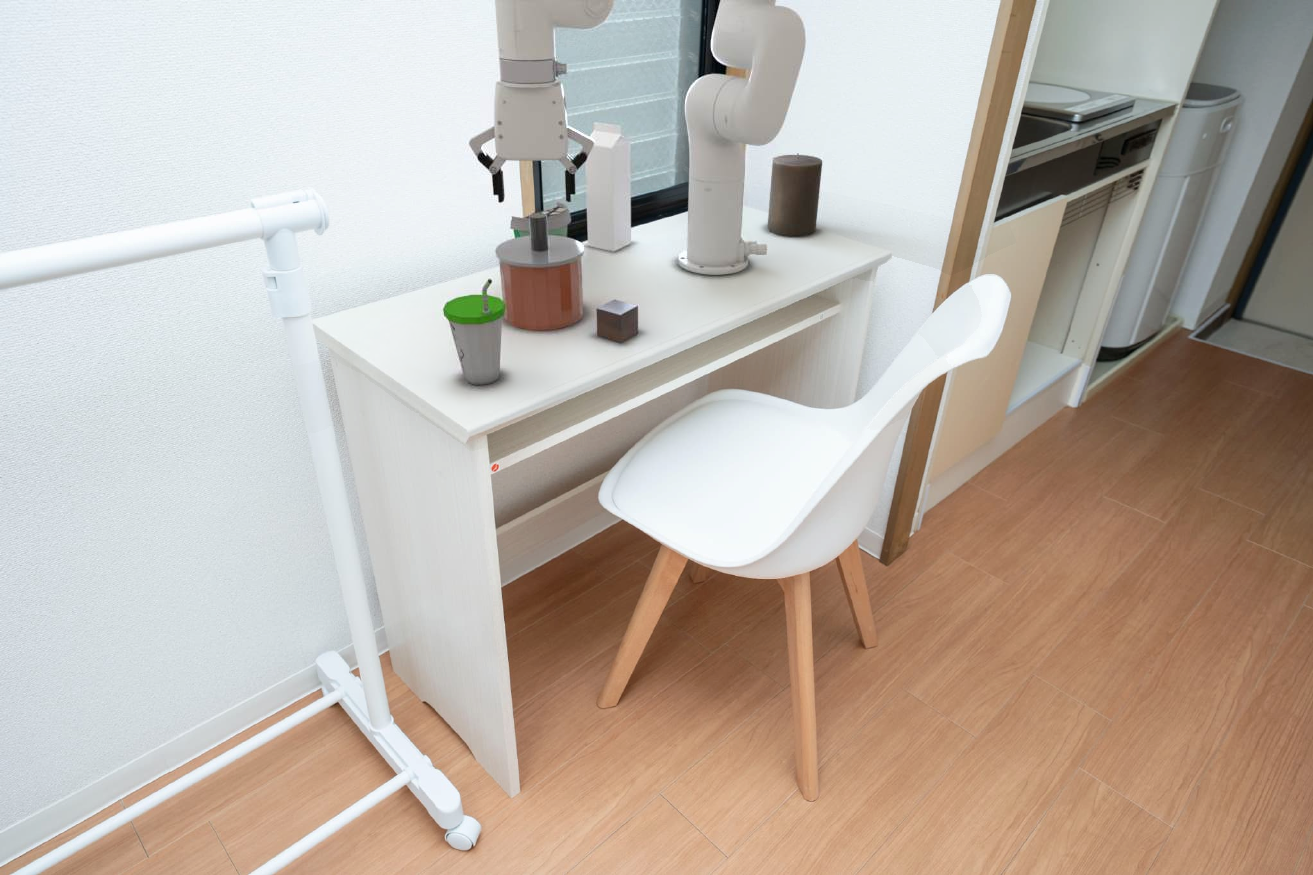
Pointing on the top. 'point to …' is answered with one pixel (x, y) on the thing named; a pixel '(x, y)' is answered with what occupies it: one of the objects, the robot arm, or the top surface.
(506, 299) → the canister
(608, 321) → the block
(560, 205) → the food container
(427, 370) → the top surface
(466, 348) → the cup
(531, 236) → the lid
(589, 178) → the milk
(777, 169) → the pillar candle
